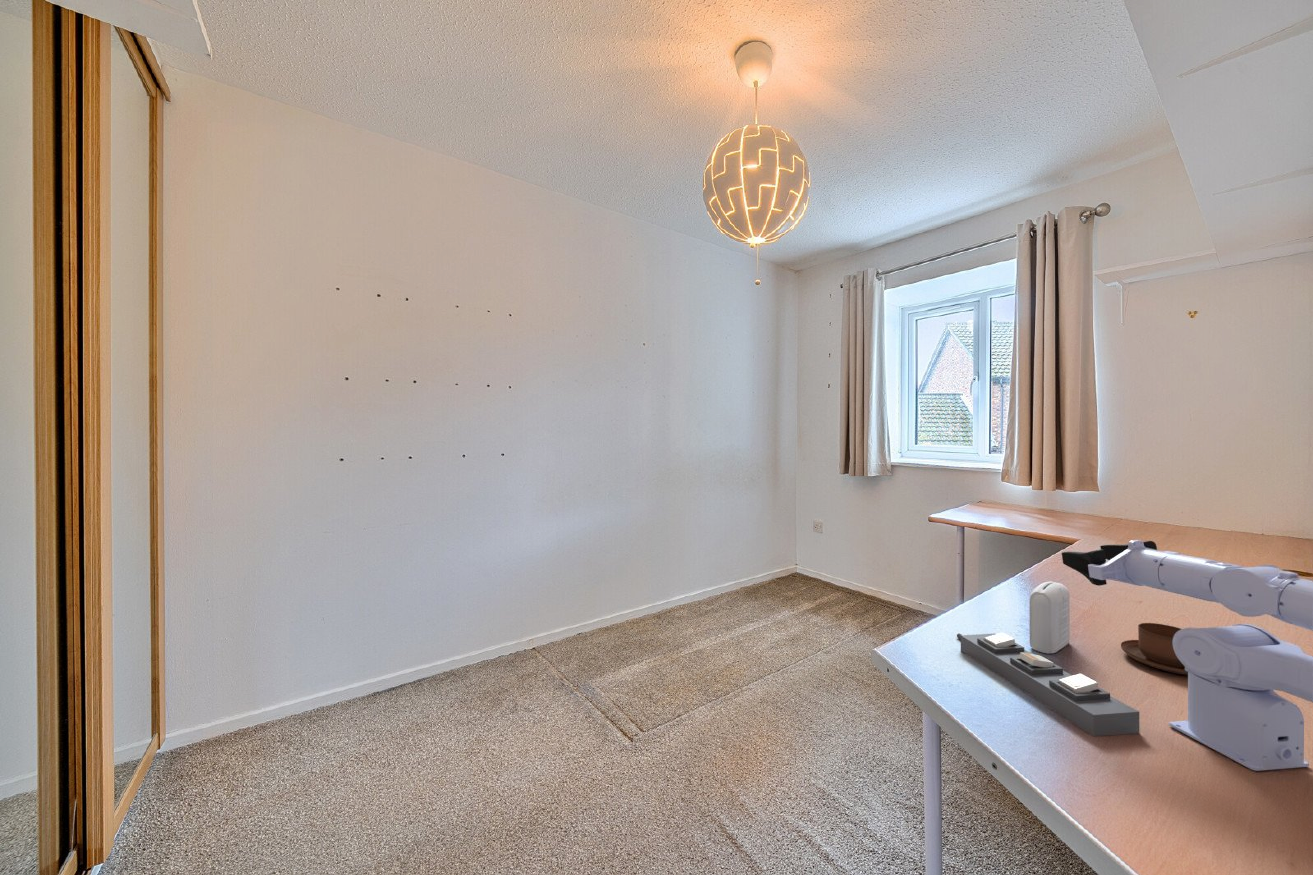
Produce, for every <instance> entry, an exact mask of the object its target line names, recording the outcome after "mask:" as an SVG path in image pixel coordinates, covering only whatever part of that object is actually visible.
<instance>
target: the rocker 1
mask: <svg viewBox="0 0 1313 875" xmlns="http://www.w3.org/2000/svg"><path fill="white" fill-rule="evenodd" d="M995 634H996V635H992V636H989V637H985V641H986V642H988V643H989V644H991V645H993V646H995V647H1007V646H1010V645H1014V644H1015V643H1016V641H1015V638H1014V637H1013V636H1010V635H1009V634H1006V633H1004V632H1000V633H999V632H998V633H995Z"/></svg>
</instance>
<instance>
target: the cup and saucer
mask: <svg viewBox="0 0 1313 875" xmlns="http://www.w3.org/2000/svg"><path fill="white" fill-rule="evenodd" d="M1137 627H1138V629H1137V631H1138V633H1137V634H1138V639H1128V640H1124V641H1122V642H1120V648H1121V650H1122V651H1123V652H1124V653H1125V654H1126V655H1127V656H1129V657H1130V658H1132V659H1133V660H1135V661H1136V662H1139V663H1141V664H1144V665H1146V666H1149V667H1151V668H1154V669H1157V670H1161V671H1165V672H1169V673H1173V674H1177V675H1179V674H1180V675H1185V676H1188V672H1187V671H1185V666H1184V665H1183V664H1182V663H1181V662H1180V660H1179V659H1178V658H1177V656H1176V654H1175V652H1174V649H1173V644H1172V642H1173V637H1174V635H1175V633H1176V632H1177V631H1179V630H1181V629H1182V628H1180V627H1177V626H1172V625H1168V624H1161V623H1157V622H1156V623H1154V622H1143V623H1139V624H1138V625H1137Z"/></svg>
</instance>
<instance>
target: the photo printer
mask: <svg viewBox="0 0 1313 875" xmlns="http://www.w3.org/2000/svg"><path fill="white" fill-rule="evenodd" d="M1070 597H1071V596H1070V591H1069V589H1068V588H1067V586H1065V585H1064V584H1062V583H1061V582H1054V581H1046V582H1042V583H1041V584H1039V585H1037V586H1036V587H1035V588H1033V590H1032V591H1031V593H1030V596H1029V620H1028V622H1029V646H1030V648H1032V649H1033V650H1034V651H1037V652H1040V653H1043V654H1048V655H1049V654H1054V653H1057V652H1059V650H1061V649H1063V648H1064V647H1066V646H1067V645H1068V644H1069V642H1070V640H1071V639H1070V638H1071V634H1070V633H1071V631H1070V630H1071V629H1070V627H1071V624H1070V623H1071V622H1070V619H1071V618H1070V617H1071V616H1070V614H1071V613H1070V607H1071V606H1070V605H1071V604H1070V603H1071V602H1070V599H1071V598H1070Z"/></svg>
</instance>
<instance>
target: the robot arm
mask: <svg viewBox="0 0 1313 875" xmlns="http://www.w3.org/2000/svg"><path fill="white" fill-rule="evenodd" d="M1099 547H1100V549H1096V550H1091V551H1087V552H1085V551H1084V552H1082V551H1081V552H1080V551H1063V552H1062V551H1061V559H1062V564H1063V565H1065V566H1066V567H1069V568H1070V569H1072V570H1075V571H1077V572H1078V573H1079V574H1081V575H1083V577H1085V578H1086V579H1087V580H1088V581H1089V582H1090V583H1091V584H1092V585H1094V586H1105V585H1107V584H1108V583H1107V581H1108V580H1109V581H1114V582H1119V583H1124V584H1127V585H1134V586H1138V587H1146V588H1147V587H1148V588H1152V589H1156V590H1159V591H1163V592H1164V591H1165V592H1168V593H1171V594H1172V593H1173V594H1177V595H1181V596H1186V597H1190V598H1194V599H1197V600H1202V601H1206V602H1211V603H1212V602H1213V603H1218V604H1220V605H1222V606H1223V607H1224V608H1226V609H1228V610H1229V611H1231V612H1234V613H1236V614H1237V615H1240V616H1241V617H1246V618H1247V617H1248V618H1250V617H1251V618H1253V617H1262V616H1264V615H1268V616H1271V617H1273V618H1275V619H1277V620H1279V621H1280V622H1283V623H1286V624H1289V625H1294V626H1296V627H1300V628H1302V629H1306V630H1309V631H1312V632H1313V580H1310V579H1305V578H1302V577H1299V573H1297V572H1293V571H1289V570H1283V569H1280V568H1278V566H1277V565H1272V564H1263V565H1257V566H1251V567H1249V566H1247V567H1246V566H1243V565H1238V564H1232V563H1228V562H1222V561H1218V560H1215V559H1208V558H1203V557H1197V556H1190V555H1185V554H1181V553H1180V552H1176V551H1171V550H1170V551H1169V550H1158V548H1157V544H1156V542H1155V541H1153V540H1148V541H1147V540H1146V541H1143V540H1140V539H1134V540H1130V541H1128V543H1127V544H1103V545H1100V546H1099ZM1172 644H1173V649H1174V652H1175V654H1176V656H1177V658H1178V659H1179V660H1180V662H1181V663H1182V664H1183V665H1184V666H1185V671H1187V672H1188V675H1187V720H1176V721H1169V722H1168V725H1169V726H1170V727H1171V728H1173V729H1175V730H1177V731H1179V732H1181V733H1182V734H1184V735H1186V736H1188V737H1190V738H1192V739H1193V740H1195V741H1198V742H1199V743H1201V744H1203V745H1205V746H1206V747H1209V749H1210V748H1211V749H1213V750H1214V751H1216V752H1218V753H1220V754H1222V755H1224V756H1225V757H1227V758H1229V759H1231V760H1233V761H1235V762H1236V763H1239V764H1240V765H1243V766H1244V767H1246V768H1248V769H1250V770H1252V771H1254V772H1255V771H1256V772H1257V771H1259V772H1260V771H1269V770H1272V771H1273V770H1282V769H1285V770H1286V769H1296V768H1307V767H1310V763H1309V762H1308V761H1307V760H1305V753H1304V752H1305V750H1304V749H1305V719H1304V714H1303V712H1302V710H1301V709H1300V707H1299V706H1298V705H1297V704H1295V703H1294V702H1292V701H1290V700H1288V699H1286V698H1285V697H1282V695H1280V694H1278V693H1277V692H1275V691H1279V692H1283V693H1286V694H1289V695H1292V696H1294V697H1297V698H1299V699H1301V700H1304V701H1308V702H1311V703H1313V656H1312V655H1309V654H1306V653H1305V652H1304V650H1303V649H1302V648H1301V647H1300V645H1297V644H1294V643H1291V642H1287V641H1285V640H1282V639H1280V638H1278V637H1276V636H1275V635H1274V634H1272V633H1271V632H1270V631H1268V630H1266V629H1265V628H1262V627H1260V626H1257V625H1253V624H1249V623H1238V624H1234V625H1233V624H1232V625H1229V626H1228V625H1226V626H1215V627H1214V626H1211V627H1199V628H1197V627H1183V628H1181V630H1179V631H1177V632H1176V633H1175V635H1174V637H1173V642H1172Z"/></svg>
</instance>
